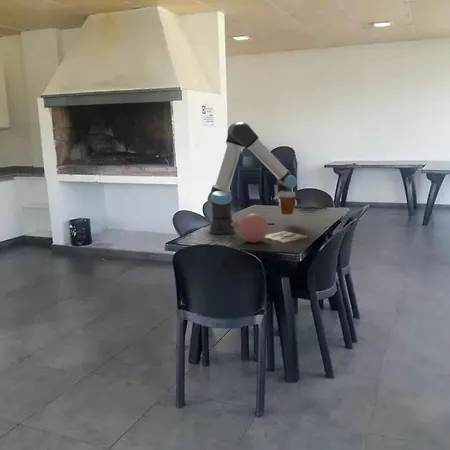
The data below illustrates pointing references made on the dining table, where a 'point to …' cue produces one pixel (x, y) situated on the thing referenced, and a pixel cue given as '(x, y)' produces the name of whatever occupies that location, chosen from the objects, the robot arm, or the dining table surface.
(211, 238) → the dining table surface
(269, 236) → the board
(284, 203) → the disposable coffee cup
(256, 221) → the balloon
